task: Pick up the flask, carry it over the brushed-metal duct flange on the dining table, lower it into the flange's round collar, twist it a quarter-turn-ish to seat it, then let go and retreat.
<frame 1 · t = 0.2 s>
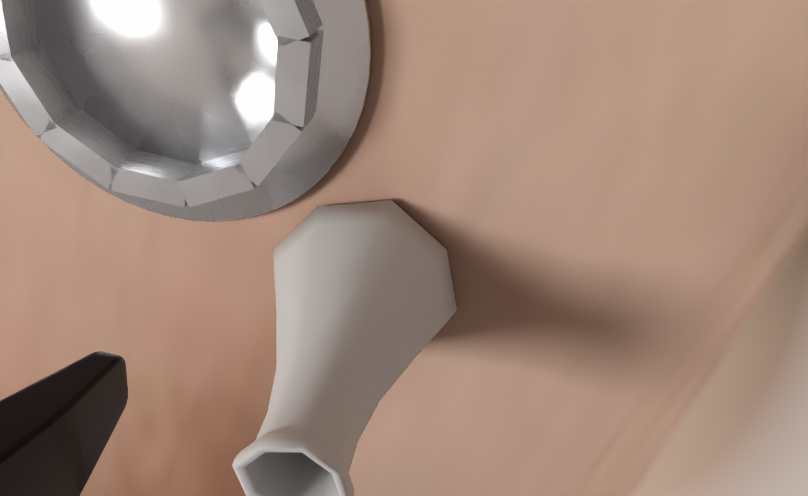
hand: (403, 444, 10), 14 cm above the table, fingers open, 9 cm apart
duct flange: (167, 34, 21), on the table
flask: (368, 273, 26), on the table
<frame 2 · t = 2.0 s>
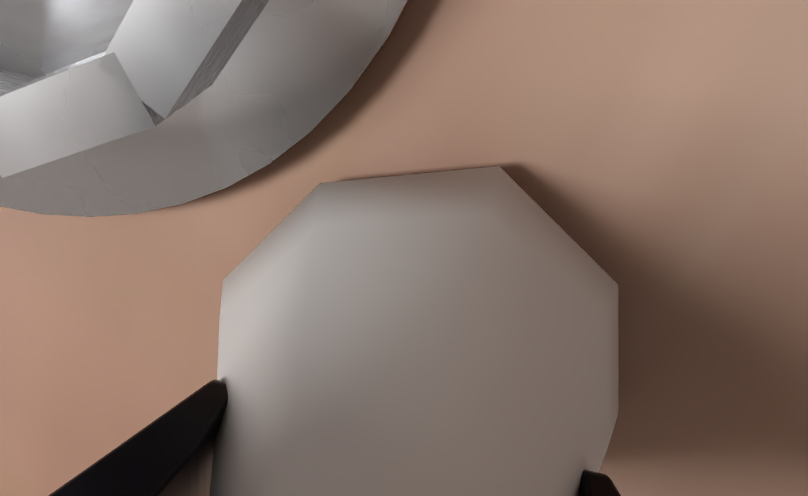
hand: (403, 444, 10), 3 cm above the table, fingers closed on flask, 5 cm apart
flask: (425, 330, 12), on the table, touching gripper
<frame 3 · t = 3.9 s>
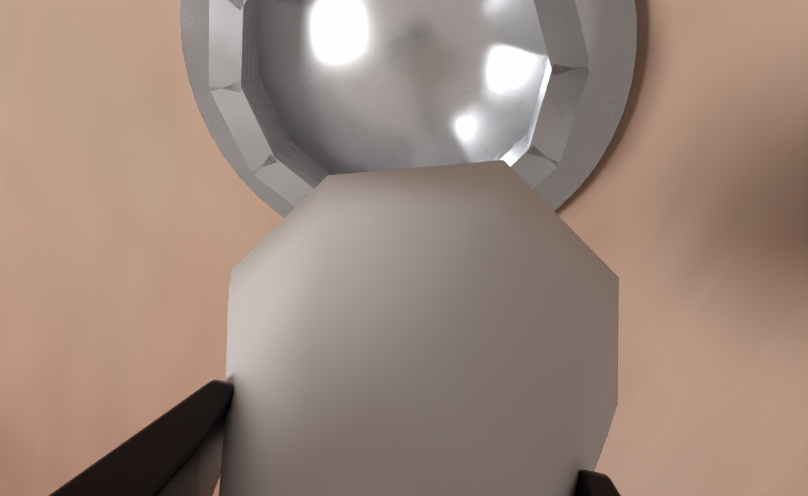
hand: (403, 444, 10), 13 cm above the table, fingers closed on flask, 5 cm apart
duct flange: (399, 62, 20), on the table
flask: (429, 321, 12), point 10 cm above the table, touching gripper
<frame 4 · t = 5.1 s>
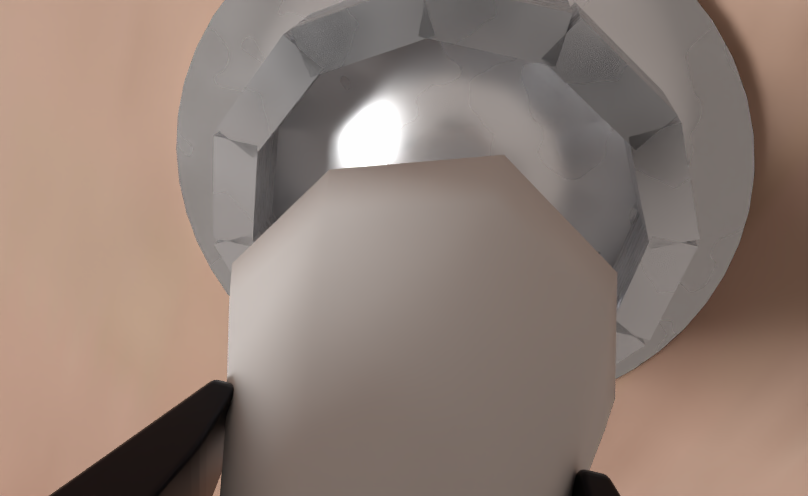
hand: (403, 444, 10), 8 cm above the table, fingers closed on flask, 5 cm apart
duct flange: (447, 203, 16), on the table
flask: (428, 316, 12), point 5 cm above the table, touching gripper
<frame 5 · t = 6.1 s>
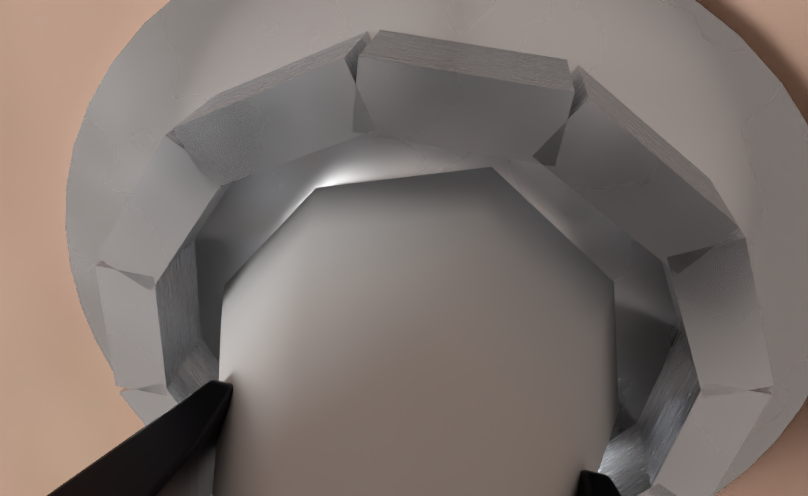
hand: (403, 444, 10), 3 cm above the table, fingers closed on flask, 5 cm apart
duct flange: (424, 320, 12), on the table
flask: (425, 331, 12), resting on duct flange, touching gripper
when the fingers open (3 cm above the table, at t = 7.4 s): flask stays where it is, resting on duct flange.
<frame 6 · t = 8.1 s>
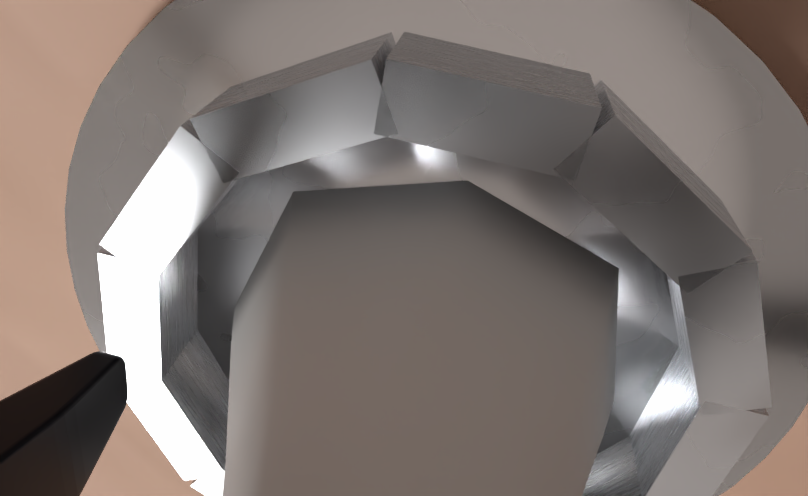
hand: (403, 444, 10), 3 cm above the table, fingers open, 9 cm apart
duct flange: (425, 324, 12), on the table
flask: (425, 336, 12), resting on duct flange
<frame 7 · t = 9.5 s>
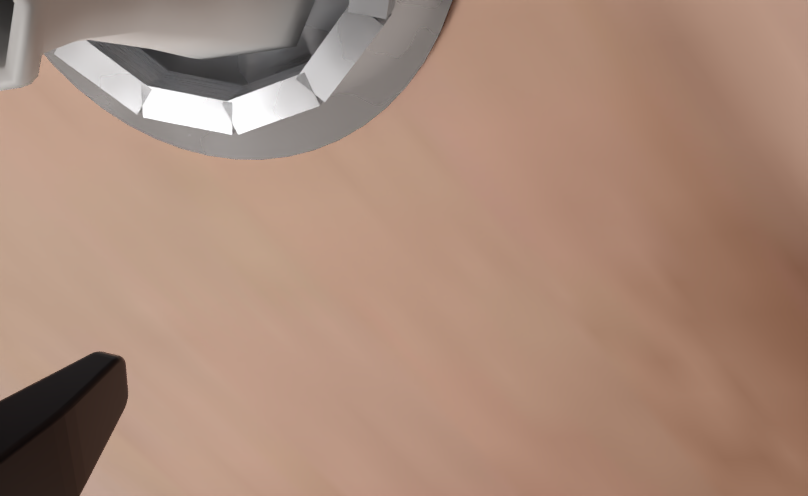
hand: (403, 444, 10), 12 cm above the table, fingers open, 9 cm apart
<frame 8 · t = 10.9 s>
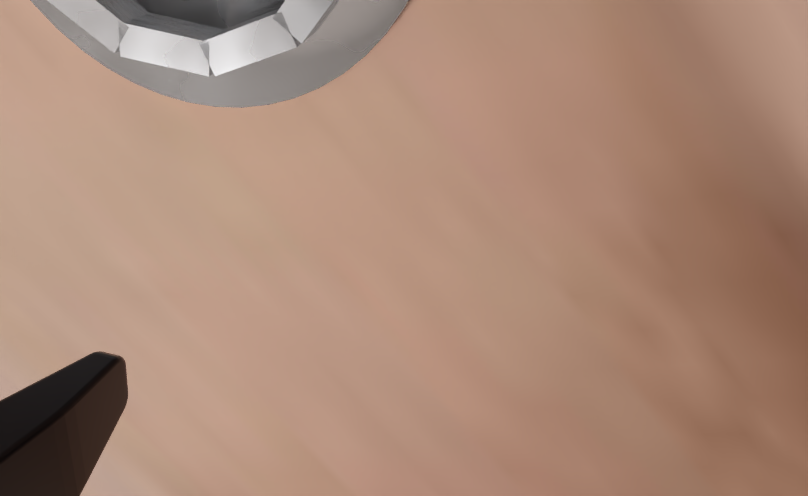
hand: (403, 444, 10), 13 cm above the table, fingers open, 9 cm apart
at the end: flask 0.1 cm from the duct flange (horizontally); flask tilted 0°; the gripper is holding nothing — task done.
